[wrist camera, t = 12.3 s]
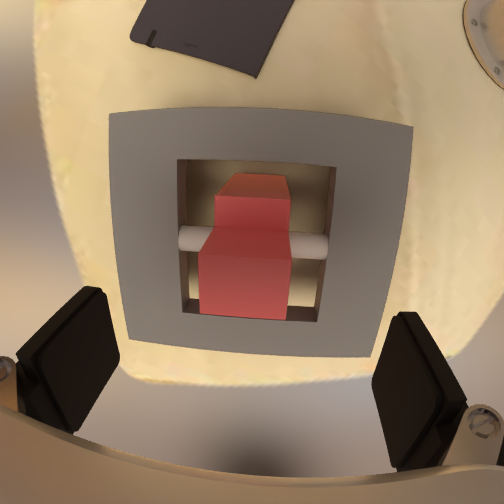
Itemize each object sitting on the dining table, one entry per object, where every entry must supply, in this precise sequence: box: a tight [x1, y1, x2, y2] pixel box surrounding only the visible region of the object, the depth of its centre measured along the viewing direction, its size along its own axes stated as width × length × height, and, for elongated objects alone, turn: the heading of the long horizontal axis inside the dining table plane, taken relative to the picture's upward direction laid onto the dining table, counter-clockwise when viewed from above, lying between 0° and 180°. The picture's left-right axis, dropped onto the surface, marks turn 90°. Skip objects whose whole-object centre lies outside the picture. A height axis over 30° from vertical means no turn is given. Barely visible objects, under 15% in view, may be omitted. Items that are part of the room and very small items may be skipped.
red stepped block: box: [198, 173, 292, 320], centre depth 20 cm, size 4×6×13 cm, turn 178°
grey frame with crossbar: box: [109, 107, 413, 357], centre depth 23 cm, size 18×16×10 cm
